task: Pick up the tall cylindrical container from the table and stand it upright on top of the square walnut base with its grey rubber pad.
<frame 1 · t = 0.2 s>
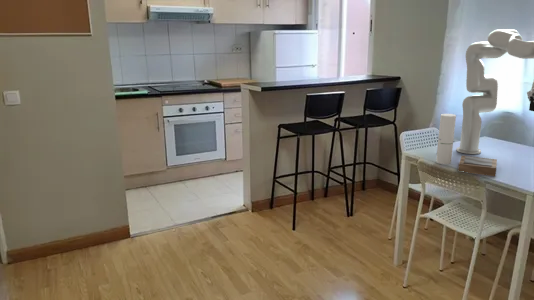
walnut base: (477, 169, 205), on the table
cylindrical container: (443, 162, 216), on the table
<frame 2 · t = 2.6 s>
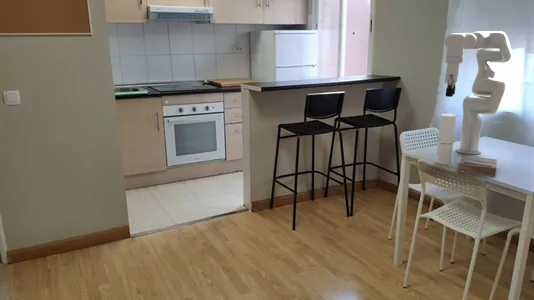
hand: (450, 95, 207), 35 cm above the table, tool pointing down, fingers open, 9 cm apart
nothing on the table moved.
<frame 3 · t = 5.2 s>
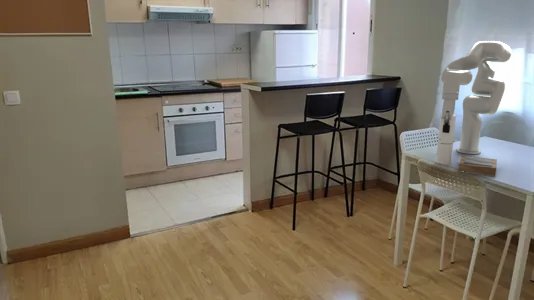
hand: (446, 130, 212), 17 cm above the table, tool pointing down, fingers closed on cylindrical container, 7 cm apart
cylindrical container: (443, 162, 216), on the table, touching gripper
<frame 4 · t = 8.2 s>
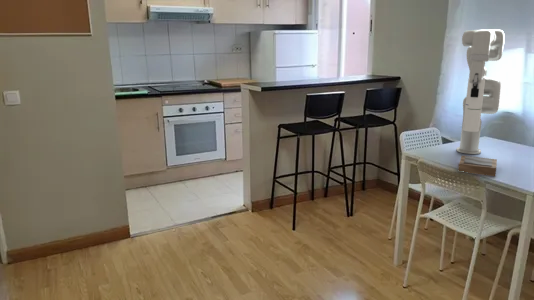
hand: (475, 95, 199), 36 cm above the table, tool pointing down, fingers closed on cylindrical container, 7 cm apart
cylindrical container: (470, 130, 203), point 19 cm above the table, touching gripper
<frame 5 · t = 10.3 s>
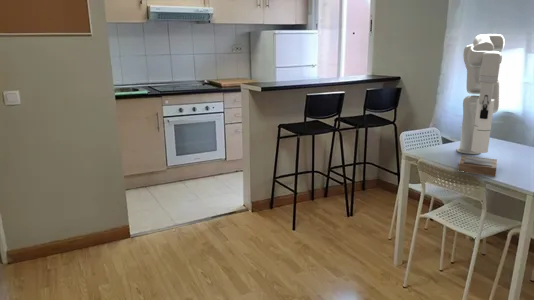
hand: (483, 116, 198), 26 cm above the table, tool pointing down, fingers closed on cylindrical container, 7 cm apart
cylindrical container: (479, 151, 202), point 9 cm above the table, touching gripper
when the fingers open (23 cm above the table, at t = 11.6 s): cylindrical container drops 1 cm, resting on walnut base.
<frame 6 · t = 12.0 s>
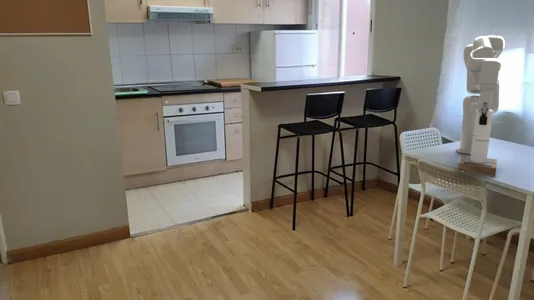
hand: (483, 122, 198), 23 cm above the table, tool pointing down, fingers open, 9 cm apart
cylindrical container: (478, 161, 204), point 4 cm above the table, touching walnut base
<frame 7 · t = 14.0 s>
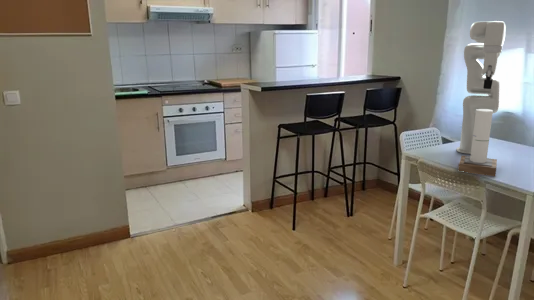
hand: (487, 87, 194), 40 cm above the table, tool pointing down, fingers open, 9 cm apart
nothing on the table moved.
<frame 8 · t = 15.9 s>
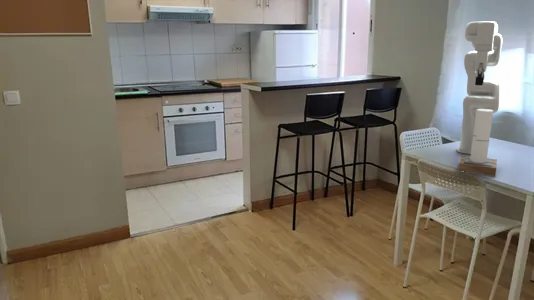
hand: (479, 84, 205), 40 cm above the table, tool pointing down, fingers open, 9 cm apart
nothing on the table moved.
at the end: cylindrical container inside the target area on the walnut base (0.1 cm from its centre), point 4.2 cm above the walnut base's base; cylindrical container tilted 0°; the gripper is holding nothing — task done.
